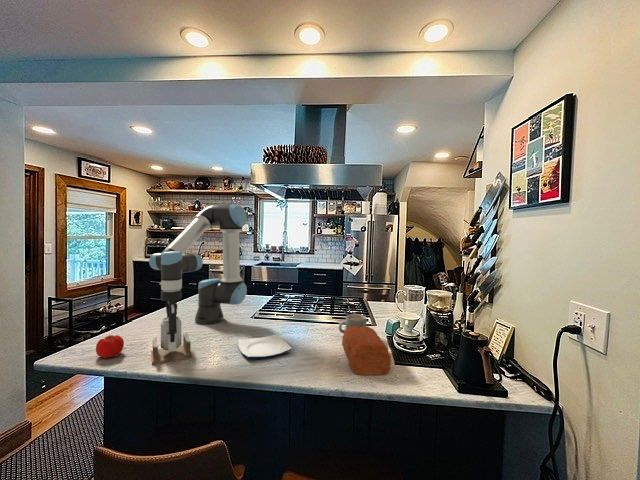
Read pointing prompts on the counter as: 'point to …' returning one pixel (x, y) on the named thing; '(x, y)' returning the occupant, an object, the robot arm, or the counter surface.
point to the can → (166, 330)
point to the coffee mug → (353, 321)
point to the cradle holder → (171, 351)
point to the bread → (365, 351)
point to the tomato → (109, 346)
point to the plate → (263, 347)
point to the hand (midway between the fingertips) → (171, 345)
